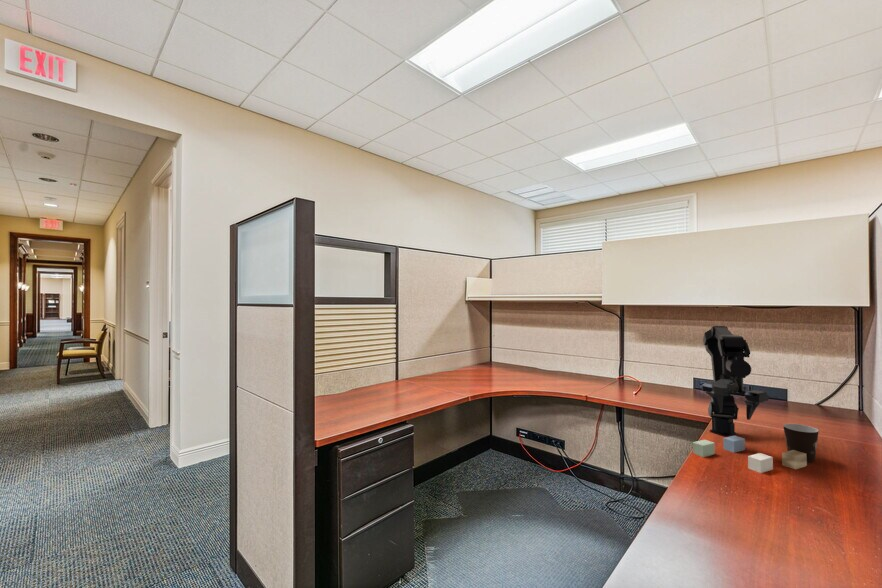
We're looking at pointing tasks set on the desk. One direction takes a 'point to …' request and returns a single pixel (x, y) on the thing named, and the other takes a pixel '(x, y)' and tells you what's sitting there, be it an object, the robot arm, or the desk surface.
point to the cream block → (760, 462)
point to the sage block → (704, 448)
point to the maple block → (794, 459)
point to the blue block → (734, 443)
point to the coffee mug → (801, 439)
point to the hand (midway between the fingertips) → (733, 415)
